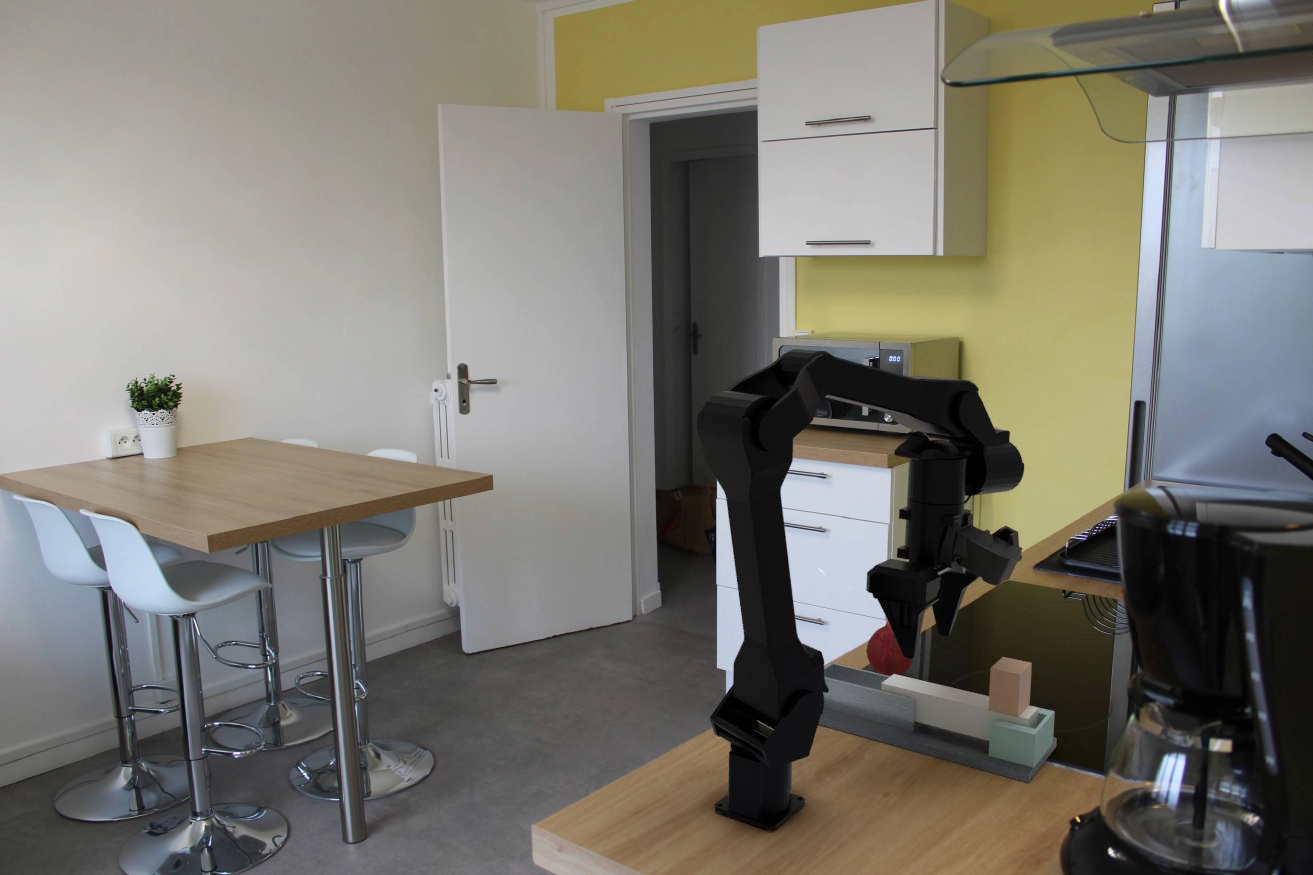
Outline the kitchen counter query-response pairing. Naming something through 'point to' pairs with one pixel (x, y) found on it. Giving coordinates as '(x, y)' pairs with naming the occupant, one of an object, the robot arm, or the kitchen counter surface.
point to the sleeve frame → (905, 723)
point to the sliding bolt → (972, 700)
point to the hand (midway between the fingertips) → (927, 646)
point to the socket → (1022, 739)
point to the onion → (886, 653)
